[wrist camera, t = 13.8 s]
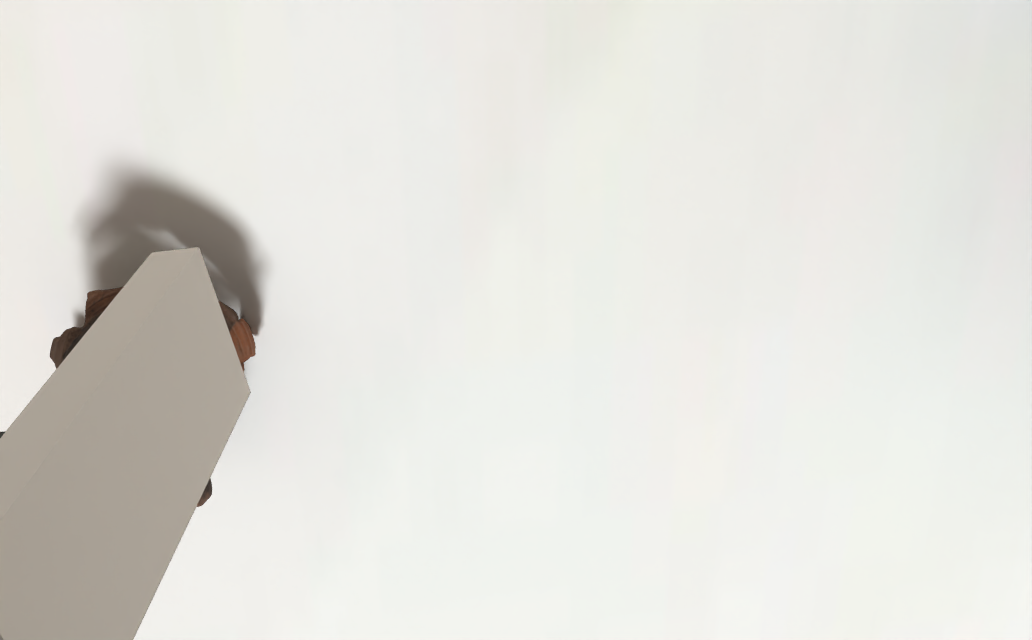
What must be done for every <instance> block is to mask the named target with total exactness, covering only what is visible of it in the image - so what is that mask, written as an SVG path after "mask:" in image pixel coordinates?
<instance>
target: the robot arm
mask: <svg viewBox="0 0 1032 640" xmlns="http://www.w3.org/2000/svg"><path fill="white" fill-rule="evenodd" d="M250 393H251V392H250V389H249V386H248V383H247V380H246V378H245V375H244V372H243V369H242V366H241V364H240V361H239V358H238V355H237V352H236V349H235V347H234V344H233V341H232V338H231V335H230V333H229V330H228V327H227V324H226V321H225V319H224V316H223V313H222V310H221V307H220V304H219V302H218V299H217V296H216V293H215V290H214V288H213V285H212V282H211V279H210V276H209V274H208V271H207V268H206V265H205V262H204V260H203V257H202V254H201V251H200V248H199V247H194V248H185V249H177V250H168V251H160V252H152V253H151V254H150V255H149V256H148V257H147V259H146V260H145V261H144V262H143V264H142V265H141V266H140V267H139V269H138V270H137V271H136V272H135V273H134V275H133V276H132V277H131V278H130V280H129V281H128V282H127V283H126V284H125V286H124V287H123V288H122V289H121V291H120V292H119V293H118V294H117V296H116V297H115V298H114V299H113V300H112V302H111V303H110V304H109V305H108V307H107V308H106V309H105V310H104V311H103V313H102V314H101V315H100V316H99V318H98V319H97V320H96V321H95V323H94V324H93V325H92V326H91V327H90V329H89V330H88V331H87V332H86V334H85V335H84V336H83V337H82V339H81V340H80V341H79V342H78V343H77V345H76V346H75V347H74V348H73V350H72V351H71V352H70V353H69V354H68V356H67V357H66V358H65V359H64V361H63V362H62V363H61V364H60V366H59V367H58V368H57V369H56V370H55V372H54V373H53V374H52V375H51V377H50V378H49V379H48V380H47V382H46V383H45V384H44V385H43V386H42V388H41V389H40V390H39V391H38V393H37V394H36V395H35V396H34V397H33V399H32V400H31V401H30V402H29V404H28V405H27V406H26V407H25V409H24V410H23V411H22V412H21V413H20V415H19V416H18V417H17V418H16V420H15V421H14V422H13V423H12V424H11V426H10V427H9V428H8V429H7V431H6V432H0V640H133V639H134V637H135V635H136V633H137V630H138V628H139V626H140V624H141V622H142V620H143V618H144V616H145V614H146V612H147V609H148V607H149V605H150V603H151V601H152V599H153V597H154V595H155V593H156V590H157V588H158V586H159V584H160V582H161V580H162V578H163V576H164V574H165V572H166V569H167V567H168V565H169V563H170V561H171V559H172V557H173V555H174V553H175V550H176V548H177V546H178V544H179V542H180V540H181V538H182V536H183V534H184V532H185V529H186V527H187V525H188V523H189V521H190V519H191V517H192V515H193V513H194V510H195V508H196V506H197V504H198V502H199V500H200V498H201V496H202V494H203V492H204V489H205V487H206V485H207V483H208V481H209V479H210V477H211V475H212V473H213V471H214V468H215V466H216V464H217V462H218V460H219V458H220V456H221V454H222V452H223V449H224V447H225V445H226V443H227V441H228V439H229V437H230V435H231V433H232V431H233V428H234V426H235V424H236V422H237V420H238V418H239V416H240V414H241V412H242V409H243V407H244V405H245V403H246V401H247V399H248V397H249V395H250Z"/></svg>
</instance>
